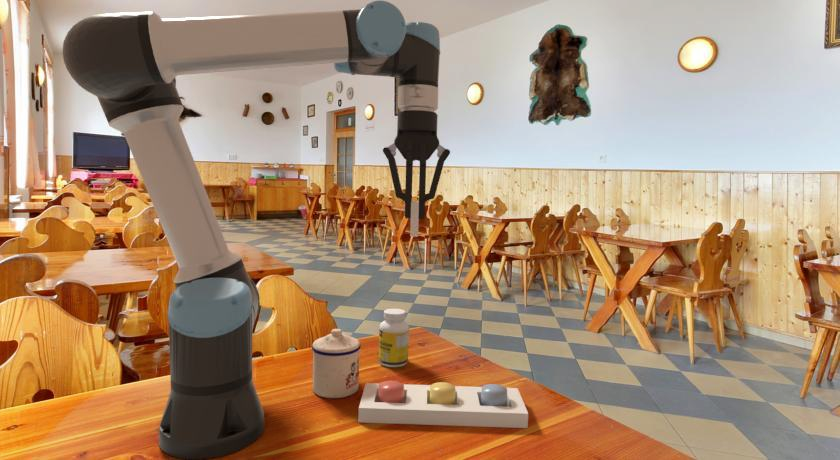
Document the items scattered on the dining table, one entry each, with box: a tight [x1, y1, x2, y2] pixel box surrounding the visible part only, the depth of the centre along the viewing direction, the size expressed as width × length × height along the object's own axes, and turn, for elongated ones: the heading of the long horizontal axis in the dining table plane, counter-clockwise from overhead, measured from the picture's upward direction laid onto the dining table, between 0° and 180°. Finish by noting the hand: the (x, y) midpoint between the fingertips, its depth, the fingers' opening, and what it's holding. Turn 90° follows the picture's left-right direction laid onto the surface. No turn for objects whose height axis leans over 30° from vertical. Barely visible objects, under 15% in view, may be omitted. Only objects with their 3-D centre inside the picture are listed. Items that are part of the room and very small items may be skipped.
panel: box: [357, 382, 529, 429], centre depth 87 cm, size 28×10×2 cm, turn 89°
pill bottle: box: [378, 308, 410, 368], centre depth 109 cm, size 6×6×12 cm
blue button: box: [480, 383, 507, 407], centre depth 87 cm, size 4×4×4 cm
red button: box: [378, 380, 404, 403], centre depth 87 cm, size 4×4×4 cm
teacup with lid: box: [311, 328, 361, 399], centre depth 96 cm, size 12×9×12 cm
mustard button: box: [430, 381, 456, 405], centre depth 87 cm, size 4×4×4 cm
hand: (414, 235), depth 96 cm, fingers closed
